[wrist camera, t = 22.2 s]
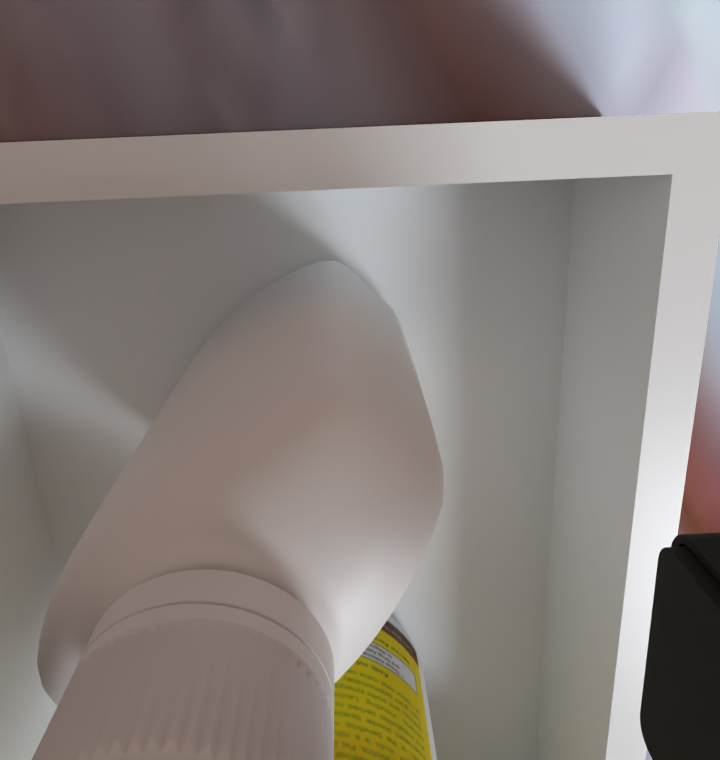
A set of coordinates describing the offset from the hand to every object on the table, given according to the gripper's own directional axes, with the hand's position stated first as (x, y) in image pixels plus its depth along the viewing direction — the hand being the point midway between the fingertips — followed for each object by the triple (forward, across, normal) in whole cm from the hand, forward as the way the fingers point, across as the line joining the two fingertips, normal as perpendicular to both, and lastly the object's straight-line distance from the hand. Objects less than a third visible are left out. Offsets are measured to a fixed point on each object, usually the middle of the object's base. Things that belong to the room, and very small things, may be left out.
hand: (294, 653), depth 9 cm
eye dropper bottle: (+7, +1, -1) cm, 8 cm away
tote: (+8, 0, +2) cm, 8 cm away
